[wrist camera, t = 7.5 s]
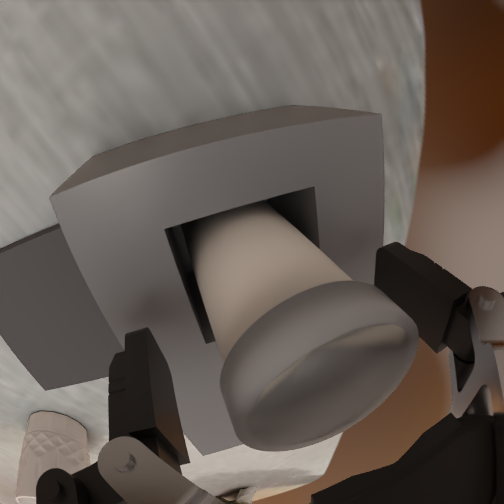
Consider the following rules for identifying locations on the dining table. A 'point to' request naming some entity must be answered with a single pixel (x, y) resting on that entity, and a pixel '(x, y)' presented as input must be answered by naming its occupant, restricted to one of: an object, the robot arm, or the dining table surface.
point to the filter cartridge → (293, 330)
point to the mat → (52, 313)
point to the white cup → (49, 451)
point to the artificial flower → (242, 496)
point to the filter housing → (210, 202)
